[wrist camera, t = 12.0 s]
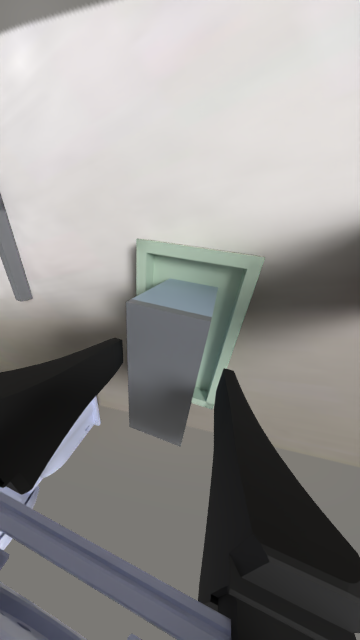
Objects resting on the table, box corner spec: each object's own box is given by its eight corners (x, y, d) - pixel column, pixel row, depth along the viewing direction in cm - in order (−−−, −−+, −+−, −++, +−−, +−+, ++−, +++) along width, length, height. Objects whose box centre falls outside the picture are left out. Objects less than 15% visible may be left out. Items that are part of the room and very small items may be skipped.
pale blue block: (195, 382, 17) (179, 450, 11) (160, 372, 18) (129, 431, 12) (218, 287, 12) (211, 321, 7) (170, 278, 13) (125, 301, 7)
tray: (213, 393, 18) (212, 409, 16) (144, 371, 19) (136, 384, 18) (259, 256, 11) (265, 257, 9) (148, 239, 13) (136, 238, 11)
